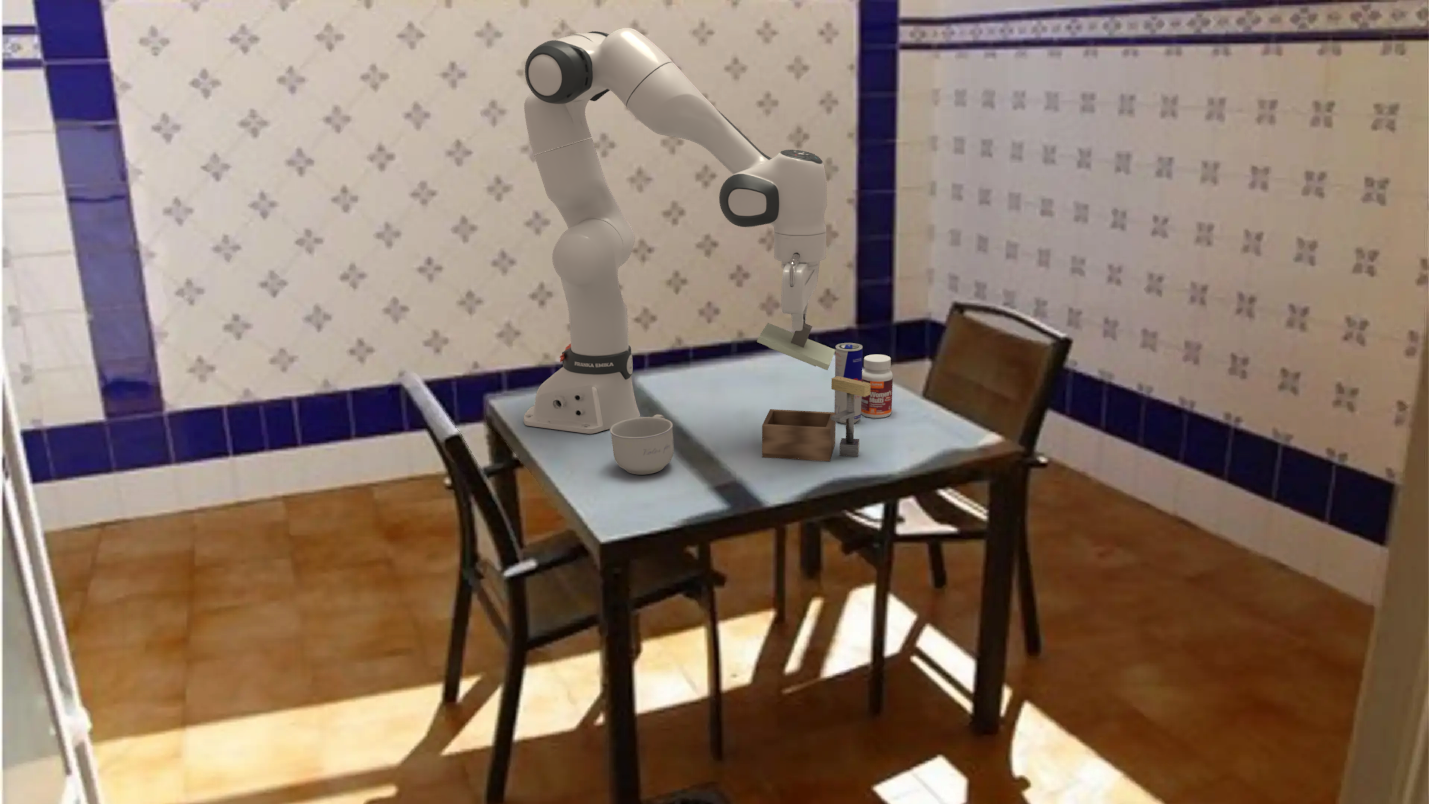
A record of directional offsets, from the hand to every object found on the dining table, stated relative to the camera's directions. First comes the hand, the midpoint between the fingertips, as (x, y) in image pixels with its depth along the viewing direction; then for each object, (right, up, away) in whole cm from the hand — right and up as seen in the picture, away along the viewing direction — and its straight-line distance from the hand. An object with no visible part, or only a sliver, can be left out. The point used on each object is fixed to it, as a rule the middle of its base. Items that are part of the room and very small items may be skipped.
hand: (799, 326), depth 206 cm
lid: (-1, -4, +1) cm, 4 cm away
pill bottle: (+17, -15, +26) cm, 34 cm away
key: (+8, -20, +3) cm, 22 cm away
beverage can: (+11, -17, +22) cm, 30 cm away
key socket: (+9, -22, +5) cm, 25 cm away
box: (0, -22, +7) cm, 23 cm away
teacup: (-26, -24, +2) cm, 36 cm away
